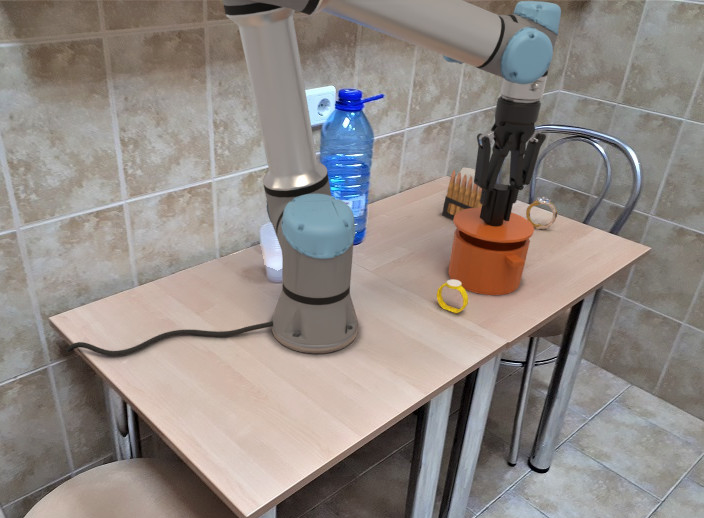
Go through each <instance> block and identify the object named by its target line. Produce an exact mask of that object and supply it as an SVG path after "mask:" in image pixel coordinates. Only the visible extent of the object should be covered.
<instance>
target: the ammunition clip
mask: <svg viewBox="0 0 704 518" xmlns="http://www.w3.org/2000/svg"><path fill="white" fill-rule="evenodd" d="M457 175H458V176H457ZM457 175H456V170H455V169H453V171H452V172H451V174H450V177H449V178H450V179H449V184H448V187H447V191H446V196H444V197H445V198H444V202H443V208H442V213H441V215H442V216H443V217H445V218H448V219H450V220H451V221H453V220H454V216H455V214H456V213H457V212H459V211H461V210H464V209H469V208H482V204H481V203H480V197H481V192H482V188H480V187H479V190H478V186H477V185H476V184H475V183H474V185H473V189H472V176H471V177H470V178H469V181H468V184H467V176H466V174H465V175H464V177H463V180H462V183H461V173H460V171H459V172H458V173H457ZM456 176H457V179H456V183H455V178H456ZM466 184H467V188H466ZM460 185H461V188H460ZM477 191H478V194H477Z"/></svg>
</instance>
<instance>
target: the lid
mask: <svg viewBox="0 0 704 518" xmlns="http://www.w3.org/2000/svg"><path fill="white" fill-rule="evenodd" d="M507 185H508V184H503V183H495V185H494V188H493V189H494V190H495V191H496V196H495V201H494V206H493V211H492V215H491V220H490V223H486V222H485V221H483V220H482V219H481V218H480V213H481V208H482V207H481V208H469V209H464V210H461V211H459V212H457V213H456V214H455V216H454V220H452V222H453V224H454V226H455V227H456V229H457V228H458V229H459V230H460V231H462V232H464V233H465V234H467V235H470V236H472V237H475V238H478V239H482V240H486V241H492V242H501V243H512V242H520V241H524V240H527V239H529V240H530V238H531V237H532V236H533V235H534V232H535V227H534V226H533V225H532V224H531V223H530V222H529V221H528V219H527V218H525V217H523V216H522V215H519V214H518V213H514V212H512V211H511V215H510V219H509V221H505V220H504V217H505V212H506V208H507V203H508V198H509V194H510V189H511V188H510V187H509V186H507Z"/></svg>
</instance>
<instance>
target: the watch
mask: <svg viewBox="0 0 704 518" xmlns="http://www.w3.org/2000/svg"><path fill="white" fill-rule="evenodd" d="M461 284H462V283H461V282H460V281H458V280H454V279H448V280H446V282H444V283H443V284H440V286H439V287H438V288H437V291H436V300H437V303H438V305H439V306H440V308H441V309H443V310H445V311H449V312H451V313H454V314H458V313H460V312H462V311H464V310H465V309H466V308H467V305H468V304H469V295H468V292H467V290H466V289H464V288H463V287H462V286H461ZM444 287H447V288H448V289H451V290H457V291H458V292H459V293H460V295H461V297H462V306H461V307H460V308H457V307H453V306H451V305H448V304H447V303H446V302H445V301H444V298H443V288H444Z"/></svg>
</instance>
